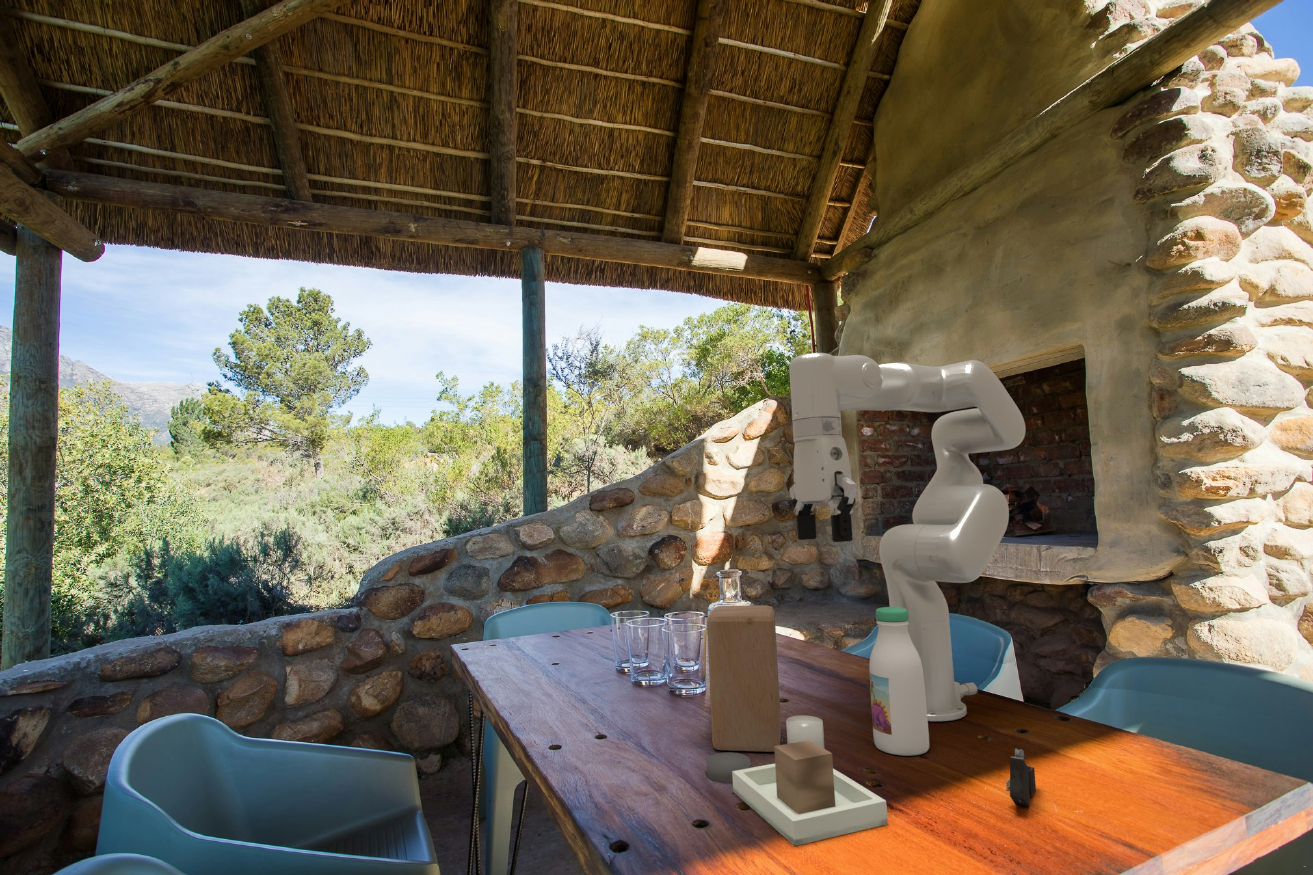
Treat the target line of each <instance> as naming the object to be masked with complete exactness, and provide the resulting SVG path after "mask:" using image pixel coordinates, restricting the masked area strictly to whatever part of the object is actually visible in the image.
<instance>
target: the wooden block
mask: <svg viewBox="0 0 1313 875" xmlns="http://www.w3.org/2000/svg"><path fill="white" fill-rule="evenodd" d="M706 629H707V630H706V631H707V634H706V636H707V650H708V654H707V656H708V673H709V674H708V676H709V696H710V698H709V700H710V714H711V716H710V717H711V739H712V740H711V741H712V745H713V747H714V749H715V750H718V751H727V752H728V751H729V752H730V751H732V752H759V753H760V752H761V753H763V752H764V753H765V752H766V753H775V751H774V746H778V745H781V736H782V734H781V733H782V720H781V717H782V716H781V700H780V684H779V683H780V682H779V680H780V679H779V666H778V663H779V662H778V651H777V650H778V647H777V631H776V630H777V629H776V613H775V609H774V607H773V606H770V605H765V604H764V605H761V604H760V605H718V606H715V607H714V608H713V609H712V611H711V612H710V613H709V615H708V617H707V620H706Z"/></svg>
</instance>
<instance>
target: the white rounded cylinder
mask: <svg viewBox="0 0 1313 875" xmlns="http://www.w3.org/2000/svg"><path fill="white" fill-rule="evenodd" d="M785 722H786V724H785V725H786V726H785V727H786V738H787V740H786V744H790V743H796V742H802V741H808V740H810V741H812V742H814V743H815V744H817V745H819V746H820V747H822V748H824V749H825V737H824V725H823V724H824V723H823V720H822V718H819V717H817V716H812V715H805V714H803V715H792V716H790V717H788V718H787V719H786V720H785Z"/></svg>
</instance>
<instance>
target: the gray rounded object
mask: <svg viewBox="0 0 1313 875" xmlns="http://www.w3.org/2000/svg"><path fill="white" fill-rule="evenodd" d="M705 762H706V775H707V777H708V778H709V779H710V780H711V781H714V782H717V783H722V784H723V783H724V784H733V776H732V771H737V770H742V769H748V768H752V765H751V758H750V757H749V756H747V755H746V754H743V753H739V752H733V751H732V752H730V751H729V752H728V751H727V752H726V751H725V752H718V753H714V754H712V755H709V756H708V757H707V758H706V761H705Z"/></svg>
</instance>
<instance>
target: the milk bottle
mask: <svg viewBox="0 0 1313 875" xmlns="http://www.w3.org/2000/svg"><path fill="white" fill-rule="evenodd" d="M875 619H876V624H877V625H878V626H877V627H878V631H877V636H876V639H875V643H874V645H873V648H872V650H871V654H870V657H869V691H870V704H871V706H870V707H871V708H870V709H871V718H872V719H871V720H872V721H871V722H872V733H873V734H872V735H873V742H874V746H875V747H876V748H877V749H878V750H879V751H881V752H884V753H887V754H891V755H897V756H906V757H907V756H908V757H909V756H918V755H922V754H925V753H927V752H928V751H929V749H930V734H929V721H928V719H927V706H926V694H925V683H924V674H923V667H922V663H921V659H920V657H919V654H918V652H917V650H916V648H915V647H914V645H913V643H912V641H911V638H910V636H909V633H908V628H907V625H908V624H909V623H908V611H907V609H904V608H899V607H890V606H884V607H878V608H876V609H875Z"/></svg>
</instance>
